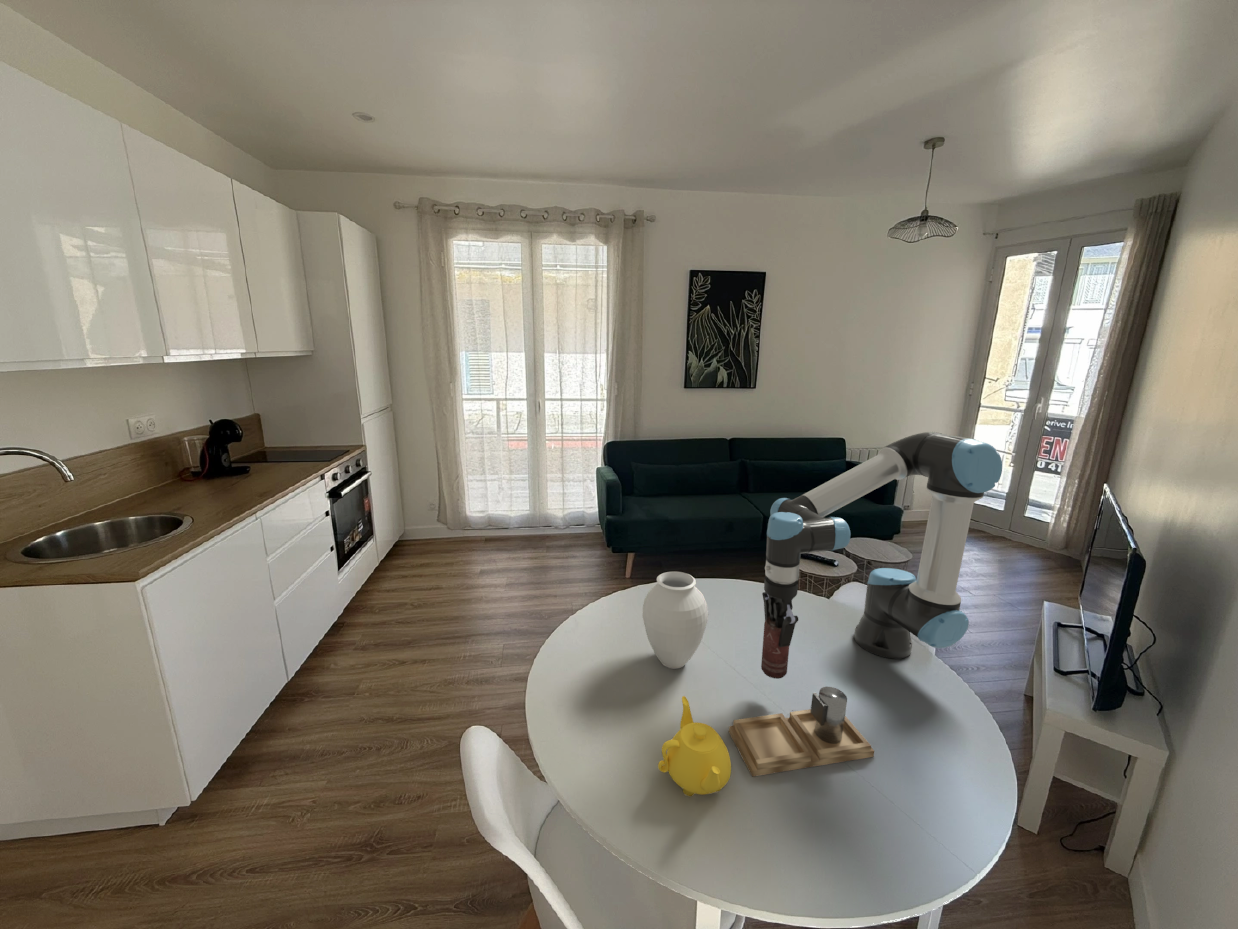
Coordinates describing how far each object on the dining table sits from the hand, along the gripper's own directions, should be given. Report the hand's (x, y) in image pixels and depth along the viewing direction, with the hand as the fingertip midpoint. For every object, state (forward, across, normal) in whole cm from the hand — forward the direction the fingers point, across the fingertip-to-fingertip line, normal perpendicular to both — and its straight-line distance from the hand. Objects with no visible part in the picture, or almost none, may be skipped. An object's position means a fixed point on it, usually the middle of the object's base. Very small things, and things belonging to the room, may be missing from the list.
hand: (775, 664), depth 118 cm
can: (+2, 0, 0) cm, 2 cm away
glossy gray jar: (+8, +15, +5) cm, 18 cm away
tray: (+9, +15, -2) cm, 18 cm away
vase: (+9, -18, -21) cm, 29 cm away
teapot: (+9, +19, -28) cm, 35 cm away
